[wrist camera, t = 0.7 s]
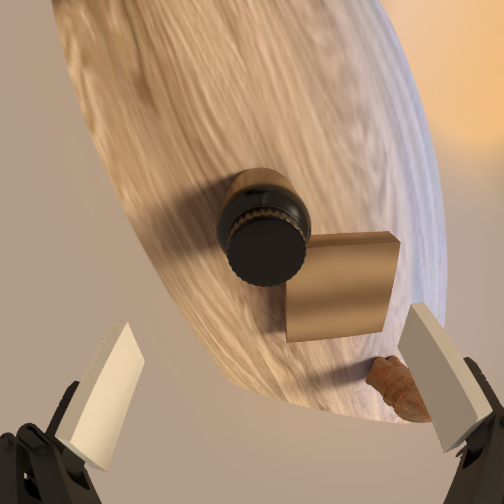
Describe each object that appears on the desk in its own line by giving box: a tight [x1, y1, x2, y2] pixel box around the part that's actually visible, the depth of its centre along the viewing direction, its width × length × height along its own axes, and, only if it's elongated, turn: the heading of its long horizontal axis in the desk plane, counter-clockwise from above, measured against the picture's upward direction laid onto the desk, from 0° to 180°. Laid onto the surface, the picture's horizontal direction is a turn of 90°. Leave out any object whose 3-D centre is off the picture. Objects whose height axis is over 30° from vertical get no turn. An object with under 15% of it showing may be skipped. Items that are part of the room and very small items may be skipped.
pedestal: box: [284, 231, 401, 343], centre depth 30 cm, size 12×12×3 cm
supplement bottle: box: [216, 168, 311, 287], centre depth 22 cm, size 7×7×12 cm
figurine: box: [365, 356, 432, 423], centre depth 30 cm, size 8×8×15 cm
